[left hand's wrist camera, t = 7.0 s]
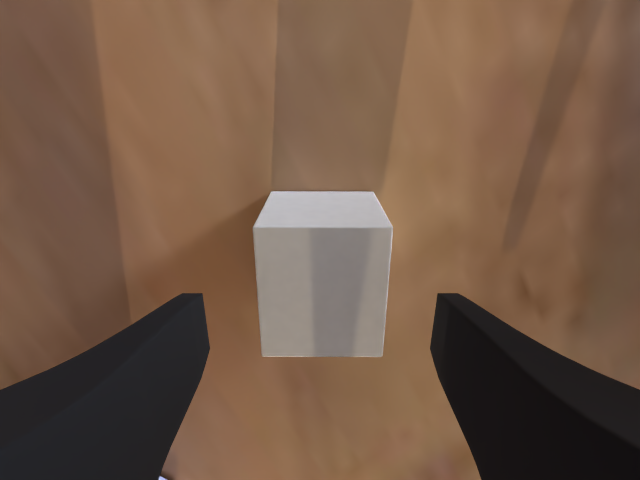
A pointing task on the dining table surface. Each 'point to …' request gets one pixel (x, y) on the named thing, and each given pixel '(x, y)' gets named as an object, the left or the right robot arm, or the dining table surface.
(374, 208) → the block
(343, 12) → the dining table surface
